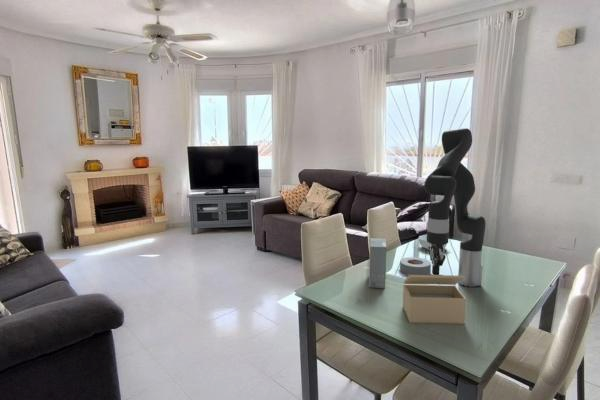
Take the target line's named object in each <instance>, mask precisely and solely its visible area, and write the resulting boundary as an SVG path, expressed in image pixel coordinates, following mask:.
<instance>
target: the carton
mask: <svg viewBox="0 0 600 400" xmlns="http://www.w3.org/2000/svg"><path fill="white" fill-rule="evenodd" d="M402 292H403V293H402V309H403V311H404V313H405V316H406V318H407V320H408V323H419V324H444V325H445V324H447V325H448V324H449V325H451V324H452V325H465V323H466V322H465V320H466V311H467V310H466V307H467V298H466V297H465V296H464V294H463V293H462V292H461V291H460V290H459V288H458V287H456V284H455V285H440V284H404V283H403V288H402Z"/></svg>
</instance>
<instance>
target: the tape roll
mask: <svg viewBox="0 0 600 400" xmlns="http://www.w3.org/2000/svg"><path fill="white" fill-rule="evenodd" d="M431 267H432V262H431V260H428V259H425V258H421V257H417V256H414V257H413V256H409V257H403V258H401V259H400V260H399V270H400V272H402V273H403V274H405V275H408V276H409V275H431V273H432V268H431Z"/></svg>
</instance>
